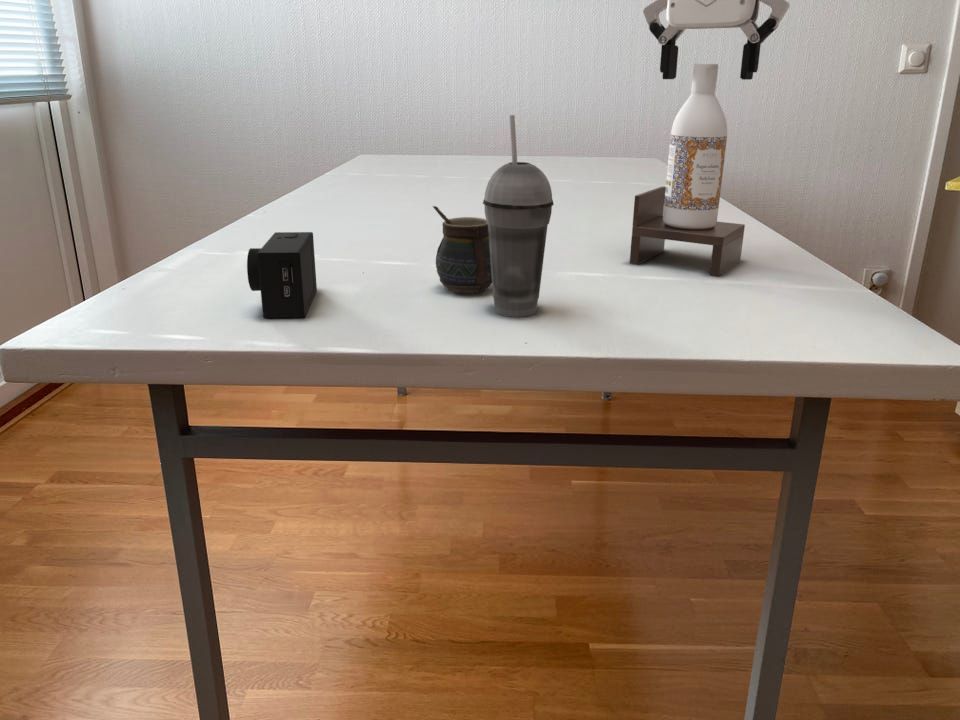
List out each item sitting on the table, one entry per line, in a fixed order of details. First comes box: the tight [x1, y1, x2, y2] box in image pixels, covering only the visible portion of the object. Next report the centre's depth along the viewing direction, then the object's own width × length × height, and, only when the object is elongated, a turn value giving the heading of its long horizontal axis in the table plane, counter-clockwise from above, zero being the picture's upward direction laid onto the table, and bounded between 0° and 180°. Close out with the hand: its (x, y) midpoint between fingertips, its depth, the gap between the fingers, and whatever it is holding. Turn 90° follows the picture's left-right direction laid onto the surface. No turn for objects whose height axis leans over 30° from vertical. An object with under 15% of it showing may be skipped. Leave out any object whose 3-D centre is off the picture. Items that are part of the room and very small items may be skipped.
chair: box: [629, 186, 746, 277], centre depth 103 cm, size 12×10×9 cm
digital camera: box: [246, 231, 318, 319], centre depth 84 cm, size 10×5×7 cm, turn 4°
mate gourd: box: [432, 205, 492, 294], centre depth 89 cm, size 7×8×10 cm
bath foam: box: [663, 63, 728, 230], centre depth 99 cm, size 7×7×20 cm
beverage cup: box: [482, 114, 554, 318], centre depth 80 cm, size 7×7×20 cm
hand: (706, 79), depth 96 cm, fingers open, 9 cm apart
